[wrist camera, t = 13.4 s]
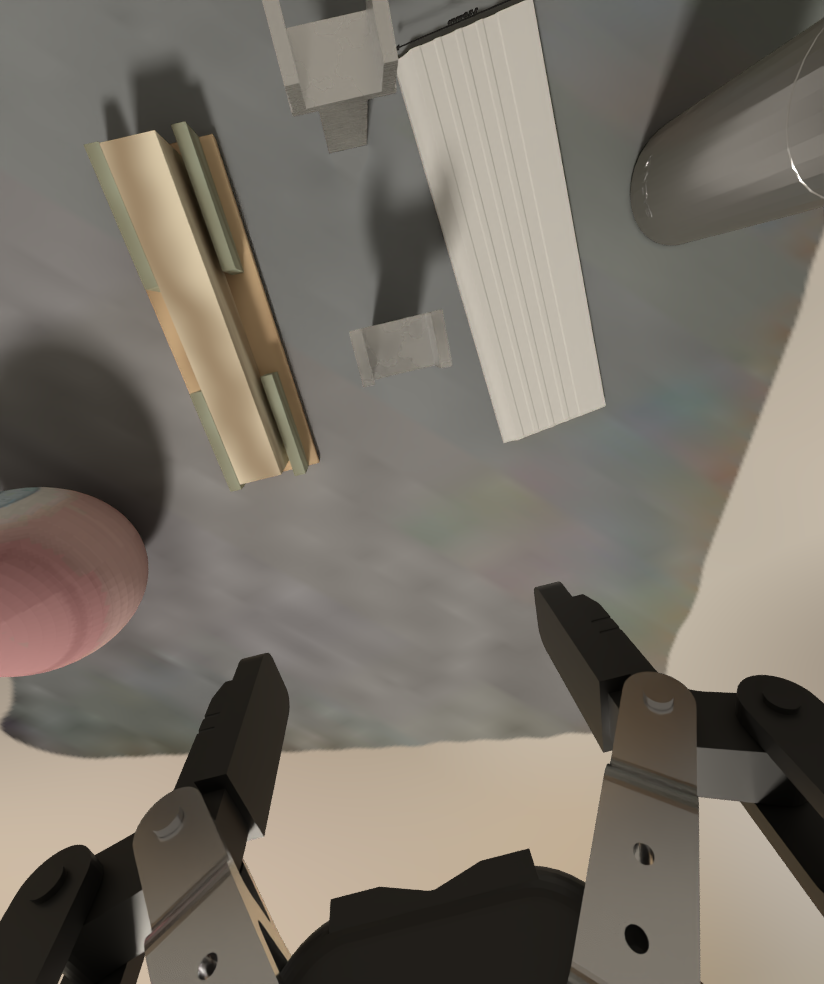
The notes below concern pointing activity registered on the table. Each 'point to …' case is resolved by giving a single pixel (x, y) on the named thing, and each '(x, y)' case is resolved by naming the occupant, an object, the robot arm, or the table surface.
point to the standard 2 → (401, 346)
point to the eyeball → (63, 577)
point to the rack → (244, 287)
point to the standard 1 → (337, 68)
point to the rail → (197, 299)
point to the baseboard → (505, 214)
